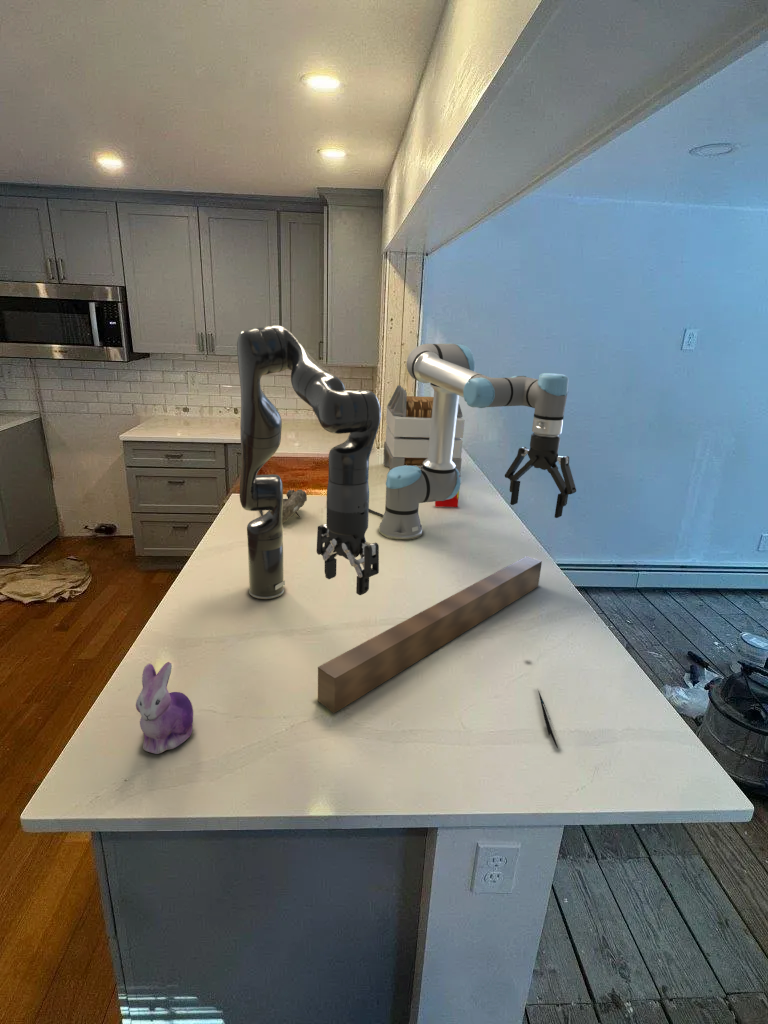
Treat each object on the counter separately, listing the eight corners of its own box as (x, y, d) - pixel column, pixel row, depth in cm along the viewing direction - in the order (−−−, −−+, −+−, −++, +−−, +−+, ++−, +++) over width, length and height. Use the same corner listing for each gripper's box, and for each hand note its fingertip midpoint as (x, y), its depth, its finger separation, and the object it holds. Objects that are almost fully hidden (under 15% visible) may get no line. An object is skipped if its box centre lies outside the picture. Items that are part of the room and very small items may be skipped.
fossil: (276, 495, 220) (305, 474, 215) (292, 513, 223) (321, 493, 218) (259, 520, 201) (291, 498, 196) (277, 540, 204) (309, 519, 199)
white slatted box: (382, 463, 289) (386, 382, 275) (445, 464, 293) (451, 384, 279) (390, 482, 257) (394, 392, 243) (460, 483, 261) (468, 394, 247)
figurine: (143, 764, 96) (134, 690, 91) (137, 726, 105) (128, 657, 100) (201, 747, 100) (195, 676, 95) (190, 712, 109) (184, 645, 104)
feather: (529, 666, 130) (534, 660, 129) (557, 753, 103) (564, 745, 103) (523, 662, 130) (528, 656, 129) (550, 748, 103) (556, 741, 103)
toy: (452, 465, 253) (463, 475, 224) (451, 495, 256) (461, 508, 227) (425, 464, 253) (433, 474, 224) (424, 494, 256) (431, 507, 226)
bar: (523, 580, 169) (526, 555, 166) (538, 586, 166) (542, 561, 163) (317, 701, 114) (317, 666, 111) (334, 713, 111) (334, 678, 108)
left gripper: (305, 498, 103) (306, 578, 108) (360, 519, 94) (358, 606, 99) (336, 490, 108) (335, 567, 114) (391, 509, 99) (387, 592, 104)
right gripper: (497, 427, 154) (489, 501, 162) (584, 444, 139) (571, 525, 146) (512, 424, 160) (503, 496, 167) (597, 440, 144) (584, 519, 151)
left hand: (346, 585), depth 106 cm, fingers open, 8 cm apart
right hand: (535, 510), depth 156 cm, fingers open, 13 cm apart
